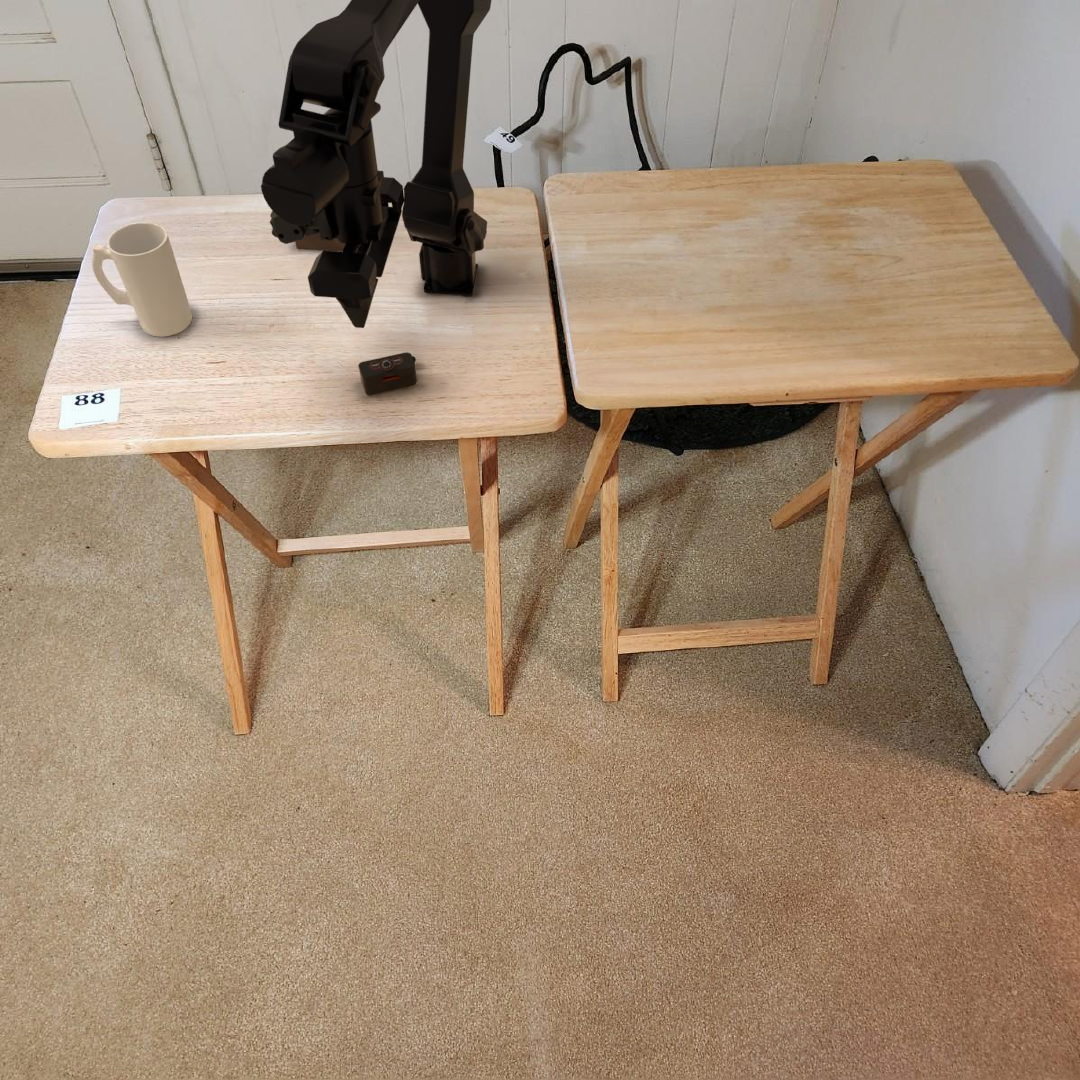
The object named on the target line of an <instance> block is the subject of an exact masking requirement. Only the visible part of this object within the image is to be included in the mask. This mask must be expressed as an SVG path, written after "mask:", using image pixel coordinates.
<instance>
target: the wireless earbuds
mask: <svg viewBox="0 0 1080 1080" xmlns="http://www.w3.org/2000/svg"><path fill="white" fill-rule="evenodd" d="M416 360H417V359H416V357H415V356H414V355H412V353H411V352H407V351H406V352H401V353H396V354H392V355H388V356H387V355H386V356H383V357H378V358H374V359H369V360H363V361H361V362H359V363H358V372H359V378H360V384H361V386H362V389H363V393H364V394H365V395H366V396H367V397H371V396H377V395H381V394H385V393H390V392H394V391H398V390H402V389H406V388H411V387H414V386H416V385H417V383H418V376H417V367H416Z"/></svg>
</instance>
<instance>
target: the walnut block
mask: <svg viewBox="0 0 1080 1080" xmlns="http://www.w3.org/2000/svg"><path fill="white" fill-rule="evenodd" d="M294 244H295V247H296V249H297V250H298V249H301V250H316V251H317V250H318V251H336V252H343V249H344V247H345V244H344V243H341V242H339V241H338V239H336V238H334V239H333V241H327V240H321V238H320V232H319V233H317V234H314V235H310V236H307V237H304V238H303V239H302V240H299V241H296V242H294Z"/></svg>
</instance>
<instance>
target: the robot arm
mask: <svg viewBox="0 0 1080 1080" xmlns="http://www.w3.org/2000/svg"><path fill="white" fill-rule="evenodd" d="M417 6H418V8H419V10H420V12H421V14H422V17H423V19H424V21H425V23H426V26H427V28H428V34H429V35H428V50H427V67H426V86H425V101H424V102H425V104H424V121H423V137H422V139H423V140H422V142H423V143H422V154H421V155H422V156H421V166H420V168H419V169H418V171H417V172H416V174H415V175H414V177H413V178H412V179H411V181H407V182H406V183H405V185H402V183H400V182H399V181H398V180H397V179H396V178H395V177H389V176H385V174H384V173H385V172H384V170H378V169H379V168H378V161H377V154H376V146H375V138H374V130H373V123H372V122H373V121H372V119H373V118H374V117H375V116H377V114H379V112H380V111H381V109H382V106H381V103H379V102H377V101H376V99H377V96H378V93H379V91H380V89H381V87H382V84H383V82H384V81H385V78H386V77H385V68H384V67H385V66H384V56H385V55H386V52H387V50H388V49H389V47H390V45H391V44H392V42H393V41H394V40H395V38H396V36H397V35H398V33H399V32H400V31H401V29H402V27H403V26H404V25H405V24H406V21H407V20H408V19H409V18H410V16H411V14H412V12H413V11H414V10H415V9H416V7H417ZM491 6H492V0H350V1H349V2H348V4H347V5H346V7H345V8H344V10H343V11H341V12H340V14H338V15H336V16H334V17H333V16H332V17H330V18H328V19H326V20H323V21H320V22H318V23H316V24H314V26H312V28H310V30H309V31H307V32H306V33H305V34H304V35H303V36H302V37H301V38H300V39H299V40H298V41H297V42H296V44H295V46H294V48H293V49H292V52H291V53H290V56H289V59H288V65H287V71H286V76H285V82H284V89H283V94H282V100H281V106H280V113H279V118H278V128H279V129H282V130H286V131H290V132H293V138H292V139H291V140H290V141H289V142H288V143H287V144H285V145H283V146H281V147H279V148H278V149H276V151H274V152H273V153H272V160H273V164H272V165H271V166H270V167H269V168H268V169H267V170H266V171H265V172H264V173H263V176H262V181H261V185H260V189H261V193H262V196H263V199H264V201H265V202H266V204H267V206H268V207H269V209H270V210H271V212H270V215H269V217H270V220H269V224H270V226H271V229H272V230H271V235H272V236H273V237H274V238H277V239H278V242H281V243H282V244H285V245H288V244H292V243H295V242H296V241H299V240H302V239H303V238H304V237H307V236H310V235H314V234H317V233H319V232H320V238H321V240H327V241H333V239H334V238H336V239H338V241H339V242H341V243H344V244H345V247H344V249H343V251H332V250H321V252H320V253H319V254H318V255H317V256H316V257H315V259H314V261H313V264H312V266H311V267H310V268H311V269H310V271H309V273H308V275H307V281H308V285H309V290H310V291H309V292H310V293H311V294H312V296H314V297H321V298H333V299H336V300H337V302H338V303H339V305H340V306H341V307H342V309H343V311H344V312H345V314H346V315H347V318H348V319H349V321H350V323H351V324H352V326H353V327H354V328H356V329H364V328H365V326H366V323H367V320H368V317H369V312H370V310H371V306H372V303H373V300H374V295H375V293H376V289H377V285H378V283H379V278H382V277H383V274H384V271H385V267H386V264H387V261H388V258H389V254H390V252H391V248H392V245H393V241H394V239H395V235H396V232H397V228H398V225H399V223H400V218H401V219H402V222H403V225H404V228H405V229H406V232H407V234H408V237H409V239H410V241H411V242H415V243H416V242H417V243H421V246H420V248H419V249H420V250H419V254H418V259H419V267H420V268H419V269H420V278H421V280H422V281H424V283H423V284H424V285H423V288H422V289H423V292H424V293H425V294H433V295H447V296H449V295H450V296H465V297H466V296H468V297H470V296H472V295H474V291H475V288H476V282H477V277H478V273H479V264H478V263H476V259H477V258H476V253H477V252H479V251H482V250H483V249H484V248H485V240H486V237H487V233H488V230H487V229H488V221H487V220H486V219H485V218H483V217H482V216H480V215H479V214H478V213H477V212H475V191H474V189H473V186H472V185H471V182H470V181H469V178H468V176H467V174H466V172H465V170H464V158H465V157H464V156H465V147H466V134H467V133H466V131H467V121H468V107H469V96H470V95H469V94H470V83H471V82H470V81H471V71H472V70H471V69H472V57H473V44H474V36H475V33H476V32H477V30H478V29H479V27H480V26H481V24H482V22H483V21H484V19H485V18H486V16H487V15H488V14H489V12H490V10H491ZM304 103H306V104H310V105H315V106H317V107H318V106H319V107H323V108H327V109H328V110H326V111H325V112H324V113H320V112H315V111H311V110H307V109H303V108H302V107H303V104H304ZM389 204H391V206H389Z"/></svg>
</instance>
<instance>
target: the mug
mask: <svg viewBox="0 0 1080 1080" xmlns="http://www.w3.org/2000/svg"><path fill="white" fill-rule="evenodd" d="M106 246H107V247H106ZM173 250H174V249H173V247H172V243H171V241H170V238H169V235H168V231H167V229H166V228H165V227H163V226H162V225H160V224H159V223H154V222H147V221H140V222H139V221H138V222H134V223H128V224H126V225H123V226H121V227H119V228H117V229H116V230H114V231H113V232H111V234H110V235H109V236H108V238H107V240H106V245H103V244H93V246H92V258H91V268H92V271H93V274H94V277H95V278H96V281H97V282H98V283H99V285H100V287H101V288H102V289H103V291H105V292H106V294H107V295H108V297H110V298H111V299H112V300H113V302H114V303H115V304H116V305H126V306H129V307H132V308H133V310H134V313H135V315H136V317H137V320H138V322H139V324H140V327H141V329H142V330H143V331H144V332H145V333H146V334H148V335H150V336H153V337H160V338H161V337H162V338H163V337H170V336H174V335H177V334H179V333H181V332H183V331H185V330H186V329H187V328H189V326H190V325H191V323H192V321H193V314H192V310H191V305H190V303H189V299H188V296H187V293H186V290H185V287H184V284H183V280H182V277H181V274H180V270H179V266H178V264H177V261H176V257H175V254H174V251H173ZM106 260H111V261H113V263H114V265H115V267H116V270H117V272H118V274H119V277H120V279H121V281H122V284H123V286H124V289H125V291H124V290H120V289H119V288H117V287H116V286H114V284H112V282H110V280H109V279H108V277H107V276H106V275H105V272H104V270H103V262H104V261H106Z"/></svg>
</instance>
